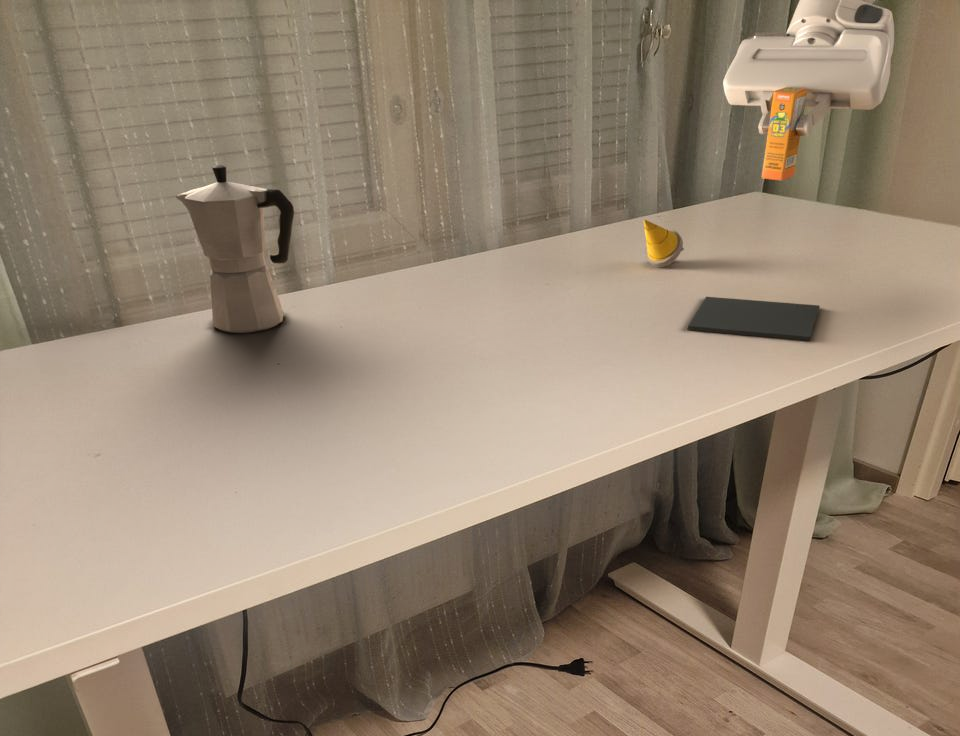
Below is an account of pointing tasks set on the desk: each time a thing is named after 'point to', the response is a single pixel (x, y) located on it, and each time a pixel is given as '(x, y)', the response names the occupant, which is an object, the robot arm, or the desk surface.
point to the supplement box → (783, 133)
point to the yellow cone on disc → (661, 244)
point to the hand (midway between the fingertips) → (783, 132)
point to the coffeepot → (239, 250)
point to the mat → (755, 318)
